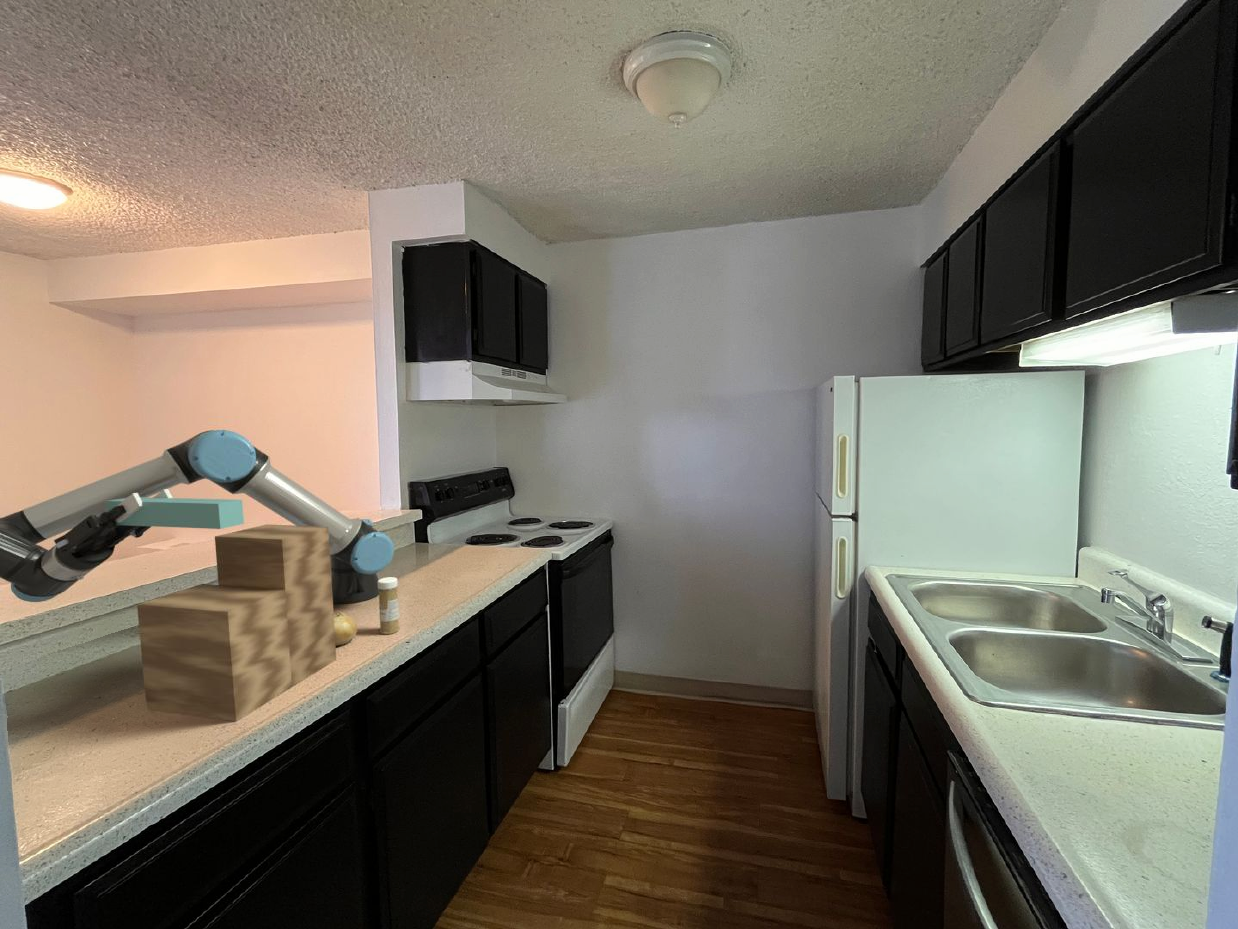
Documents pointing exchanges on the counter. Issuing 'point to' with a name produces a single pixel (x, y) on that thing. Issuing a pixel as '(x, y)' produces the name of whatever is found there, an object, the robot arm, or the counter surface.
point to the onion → (344, 628)
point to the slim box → (184, 513)
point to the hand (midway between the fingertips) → (154, 497)
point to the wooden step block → (242, 625)
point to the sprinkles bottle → (388, 605)
